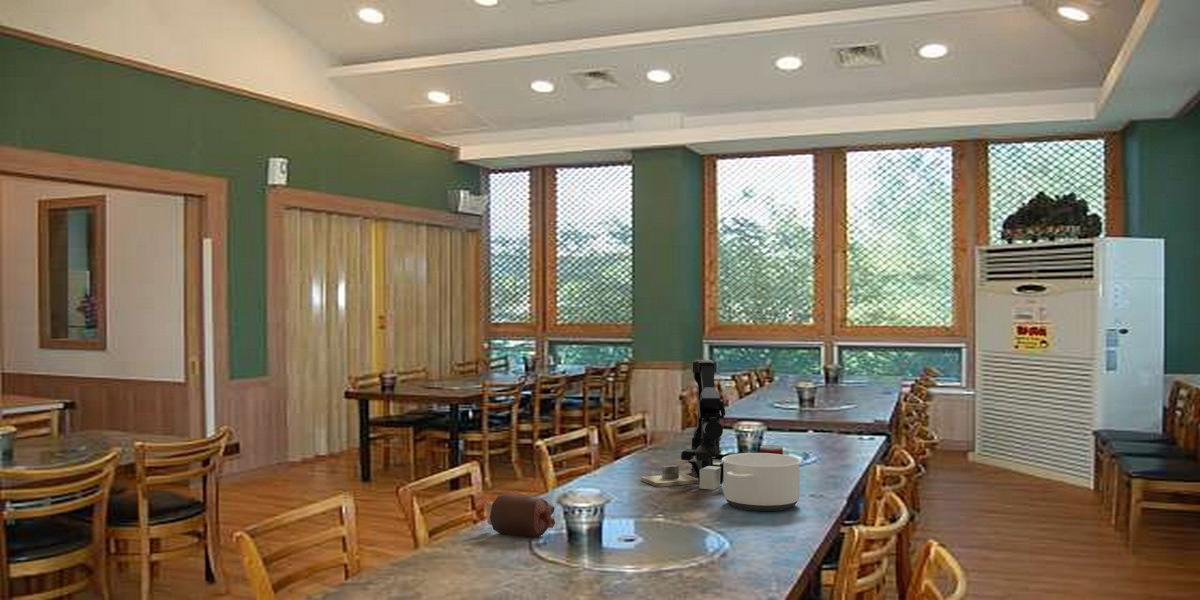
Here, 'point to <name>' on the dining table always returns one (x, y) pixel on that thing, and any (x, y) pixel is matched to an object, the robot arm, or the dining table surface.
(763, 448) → the canned food
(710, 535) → the dining table surface
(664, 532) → the dining table surface
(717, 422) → the robot arm
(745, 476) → the pot
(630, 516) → the dining table surface
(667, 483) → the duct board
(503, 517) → the meat
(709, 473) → the white rounded cube
